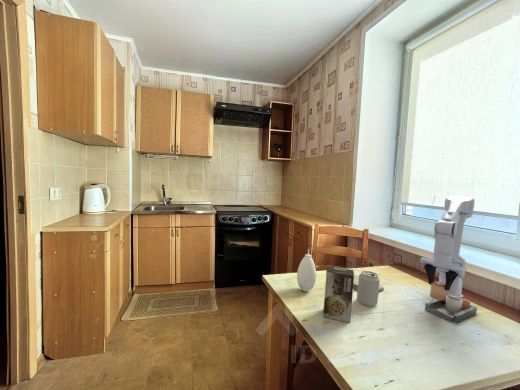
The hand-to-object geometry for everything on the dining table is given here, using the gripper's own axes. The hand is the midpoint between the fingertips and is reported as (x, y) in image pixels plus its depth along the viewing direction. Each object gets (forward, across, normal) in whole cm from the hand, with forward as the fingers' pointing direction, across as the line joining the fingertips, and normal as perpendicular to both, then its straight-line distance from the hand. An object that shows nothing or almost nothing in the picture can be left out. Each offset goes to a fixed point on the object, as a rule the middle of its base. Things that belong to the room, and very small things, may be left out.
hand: (438, 286), depth 98 cm
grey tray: (+9, +3, +3) cm, 10 cm away
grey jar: (+9, +3, +6) cm, 11 cm away
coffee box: (+9, -12, -41) cm, 44 cm away
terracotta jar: (+4, 0, 0) cm, 4 cm away
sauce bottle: (+9, -32, -38) cm, 51 cm away
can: (+9, -14, -22) cm, 28 cm away
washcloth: (+10, -28, -10) cm, 31 cm away
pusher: (+9, +3, +9) cm, 13 cm away
